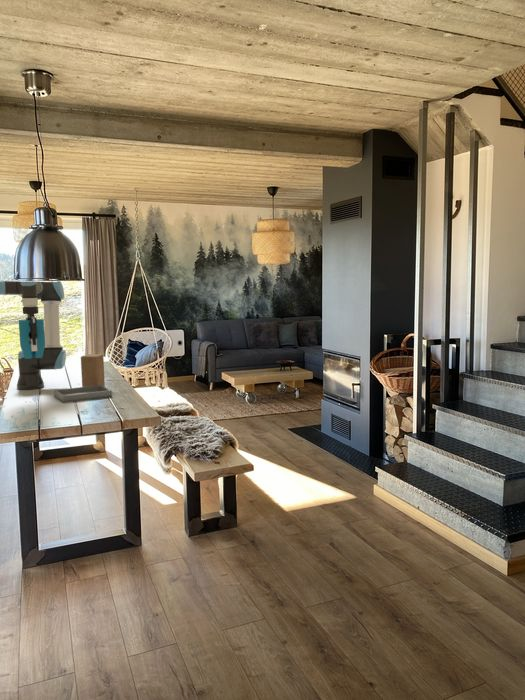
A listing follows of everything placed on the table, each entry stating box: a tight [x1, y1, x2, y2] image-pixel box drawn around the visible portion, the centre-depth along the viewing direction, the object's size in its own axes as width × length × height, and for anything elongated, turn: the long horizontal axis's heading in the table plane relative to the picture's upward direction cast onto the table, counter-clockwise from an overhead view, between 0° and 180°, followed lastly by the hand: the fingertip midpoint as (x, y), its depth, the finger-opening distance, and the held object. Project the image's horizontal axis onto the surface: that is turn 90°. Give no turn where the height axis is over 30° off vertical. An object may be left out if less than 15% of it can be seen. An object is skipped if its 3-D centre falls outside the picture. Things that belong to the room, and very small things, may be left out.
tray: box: [53, 385, 113, 404], centre depth 308 cm, size 20×26×4 cm
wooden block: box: [80, 353, 106, 387], centre depth 330 cm, size 10×10×20 cm
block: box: [18, 318, 45, 359], centre depth 292 cm, size 12×5×20 cm, turn 115°
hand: (33, 350), depth 293 cm, fingers closed on block, 5 cm apart
